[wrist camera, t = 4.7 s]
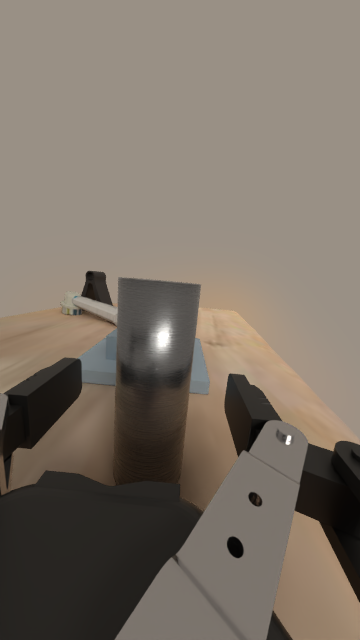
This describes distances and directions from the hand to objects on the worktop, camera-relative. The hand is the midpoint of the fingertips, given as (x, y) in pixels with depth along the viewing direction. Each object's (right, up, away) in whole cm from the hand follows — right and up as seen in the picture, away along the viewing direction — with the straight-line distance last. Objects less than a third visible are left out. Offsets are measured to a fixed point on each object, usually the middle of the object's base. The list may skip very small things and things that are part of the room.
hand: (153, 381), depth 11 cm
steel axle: (-1, -6, +3) cm, 7 cm away
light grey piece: (-20, +3, +41) cm, 46 cm away
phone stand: (-25, +6, +53) cm, 59 cm away
